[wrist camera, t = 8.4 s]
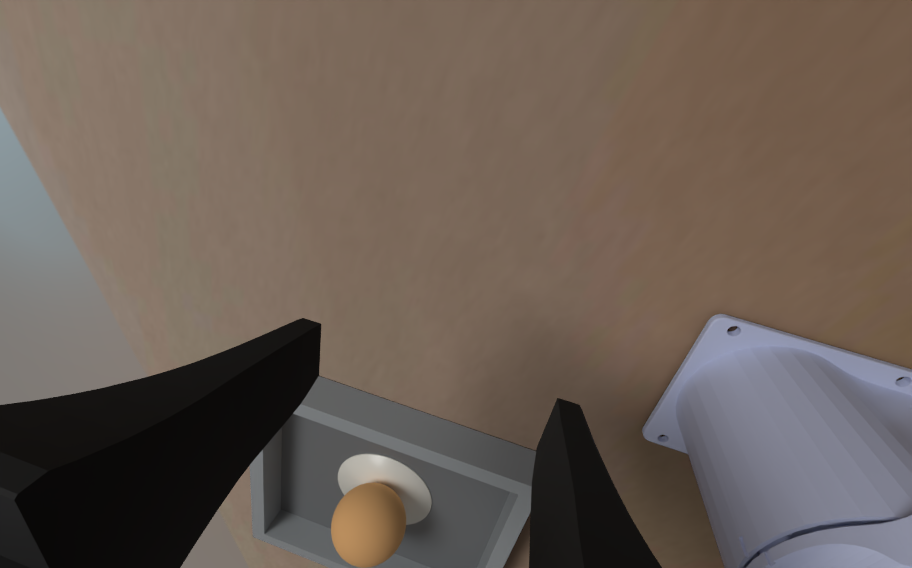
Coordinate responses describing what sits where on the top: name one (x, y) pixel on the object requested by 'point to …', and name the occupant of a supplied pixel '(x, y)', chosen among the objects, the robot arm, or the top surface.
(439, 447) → the grey serving tray
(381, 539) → the ball
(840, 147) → the top surface
